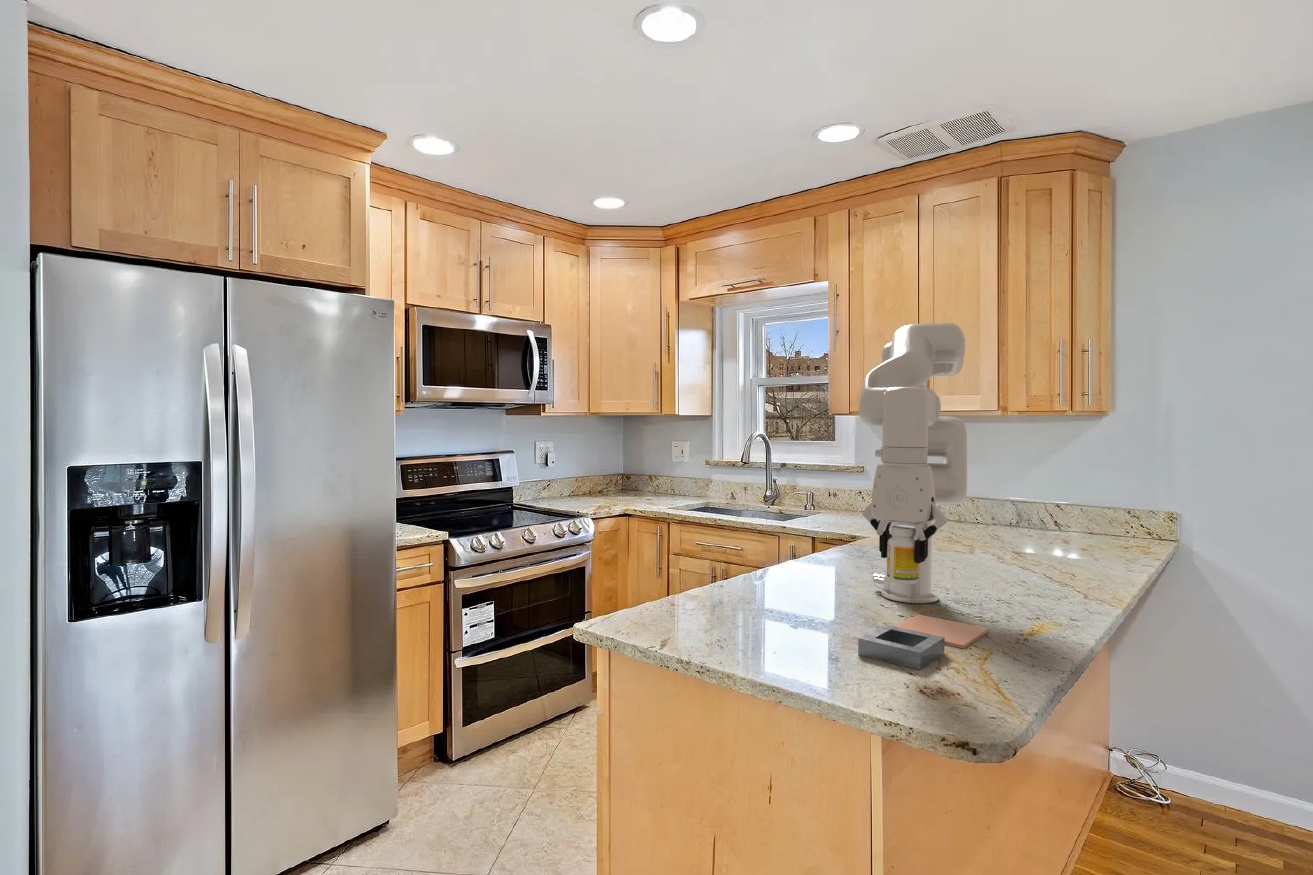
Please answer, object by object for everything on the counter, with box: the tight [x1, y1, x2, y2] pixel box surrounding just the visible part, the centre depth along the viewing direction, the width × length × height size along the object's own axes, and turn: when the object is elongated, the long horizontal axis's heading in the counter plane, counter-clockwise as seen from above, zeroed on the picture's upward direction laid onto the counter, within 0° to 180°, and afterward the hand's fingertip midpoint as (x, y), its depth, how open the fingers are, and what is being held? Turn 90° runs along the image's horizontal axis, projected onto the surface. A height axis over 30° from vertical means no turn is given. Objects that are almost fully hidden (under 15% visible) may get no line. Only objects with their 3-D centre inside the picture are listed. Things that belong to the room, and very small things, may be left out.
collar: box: [857, 624, 946, 671], centre depth 122 cm, size 11×11×3 cm
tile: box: [894, 614, 989, 649], centre depth 135 cm, size 14×14×1 cm
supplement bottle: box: [886, 525, 919, 584], centre depth 122 cm, size 5×5×10 cm
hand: (903, 558), depth 122 cm, fingers closed on supplement bottle, 5 cm apart
